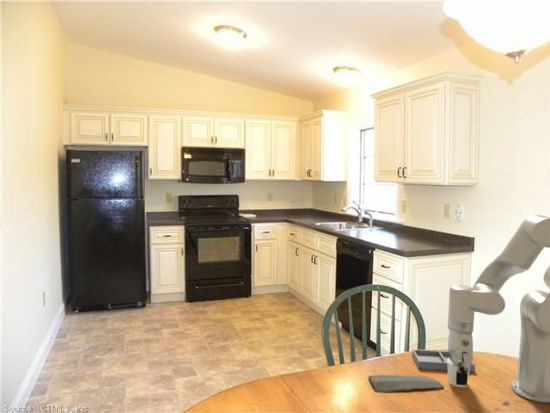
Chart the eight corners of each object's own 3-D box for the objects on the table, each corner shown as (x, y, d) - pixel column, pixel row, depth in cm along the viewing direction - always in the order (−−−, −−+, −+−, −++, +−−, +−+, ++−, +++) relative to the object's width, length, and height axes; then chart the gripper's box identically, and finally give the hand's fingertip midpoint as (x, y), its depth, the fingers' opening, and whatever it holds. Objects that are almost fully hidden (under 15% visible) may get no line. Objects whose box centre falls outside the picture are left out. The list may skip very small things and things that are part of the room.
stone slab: (366, 381, 137) (376, 394, 127) (366, 373, 138) (376, 385, 128) (431, 380, 140) (446, 392, 130) (431, 371, 140) (446, 383, 130)
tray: (412, 355, 153) (412, 349, 153) (464, 358, 151) (465, 352, 151) (418, 368, 144) (418, 361, 143) (474, 371, 142) (475, 364, 142)
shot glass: (470, 381, 135) (471, 360, 135) (467, 390, 130) (468, 369, 129) (448, 375, 139) (449, 355, 138) (443, 384, 133) (444, 363, 133)
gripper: (483, 336, 124) (480, 393, 125) (463, 315, 141) (460, 366, 142) (457, 334, 124) (454, 392, 126) (440, 314, 141) (437, 365, 143)
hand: (457, 378), depth 134 cm, fingers closed on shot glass, 6 cm apart
